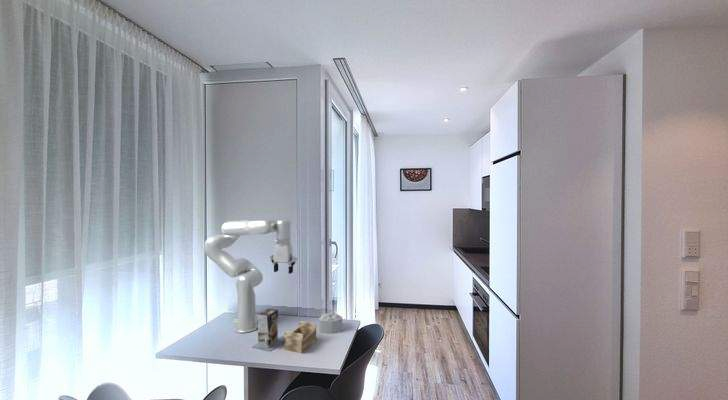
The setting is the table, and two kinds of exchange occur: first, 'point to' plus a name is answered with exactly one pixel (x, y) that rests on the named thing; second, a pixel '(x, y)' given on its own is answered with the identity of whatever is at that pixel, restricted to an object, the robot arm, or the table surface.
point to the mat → (270, 346)
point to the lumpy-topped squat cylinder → (330, 323)
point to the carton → (301, 337)
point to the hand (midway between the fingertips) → (283, 272)
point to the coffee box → (267, 328)
